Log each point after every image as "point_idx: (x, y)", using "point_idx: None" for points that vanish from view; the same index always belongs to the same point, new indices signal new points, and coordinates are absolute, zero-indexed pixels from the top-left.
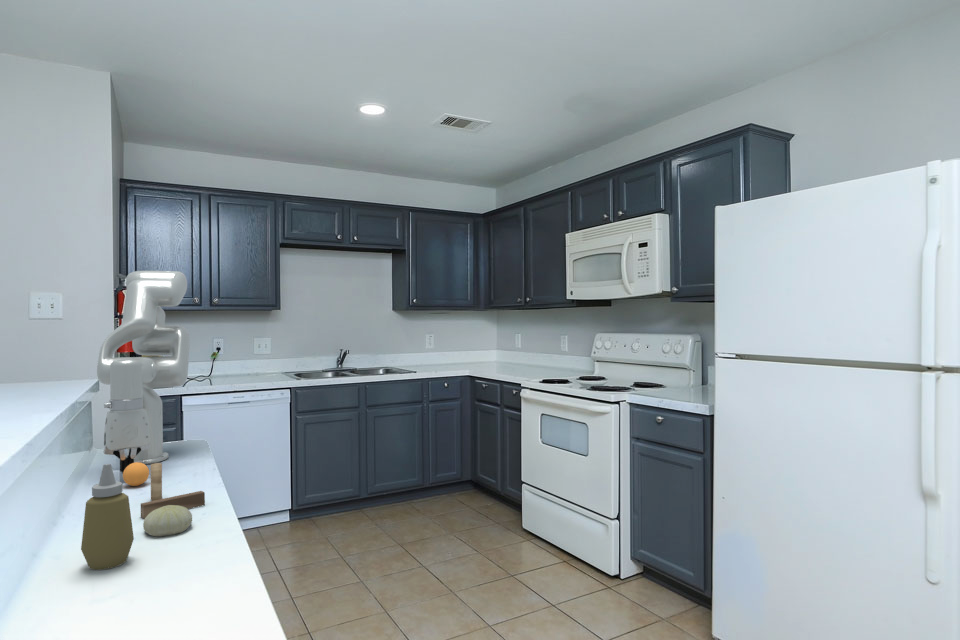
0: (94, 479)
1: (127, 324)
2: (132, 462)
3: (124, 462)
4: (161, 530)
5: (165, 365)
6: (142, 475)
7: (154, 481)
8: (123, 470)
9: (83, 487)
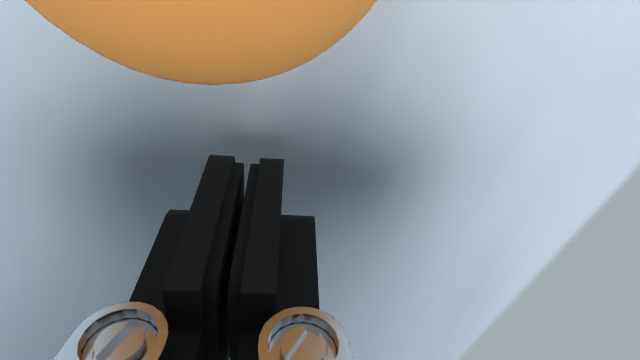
0: (405, 347)
1: None
2: (162, 272)
3: (277, 288)
4: None
5: None
6: None
7: None
8: (290, 217)
9: (562, 218)
